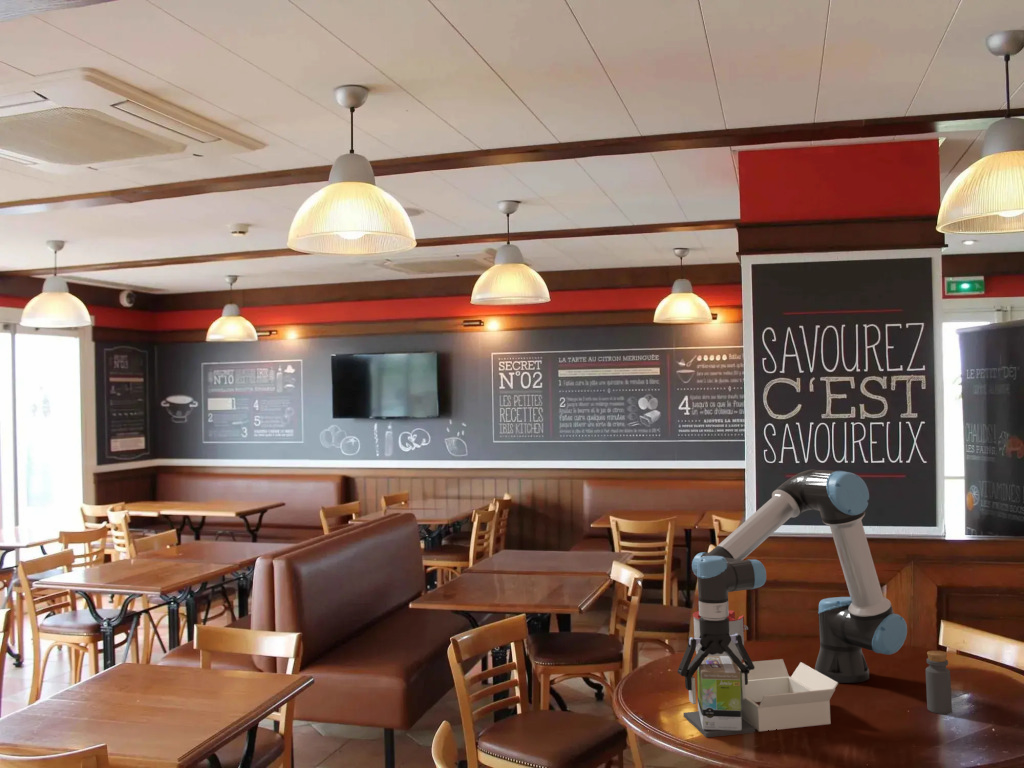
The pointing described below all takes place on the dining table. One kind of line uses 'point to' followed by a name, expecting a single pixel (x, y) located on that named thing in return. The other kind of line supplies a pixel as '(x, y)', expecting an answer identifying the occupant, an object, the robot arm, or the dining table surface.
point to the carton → (786, 696)
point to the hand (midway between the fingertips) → (717, 700)
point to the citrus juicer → (734, 627)
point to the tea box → (719, 694)
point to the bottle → (938, 683)
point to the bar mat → (696, 722)
